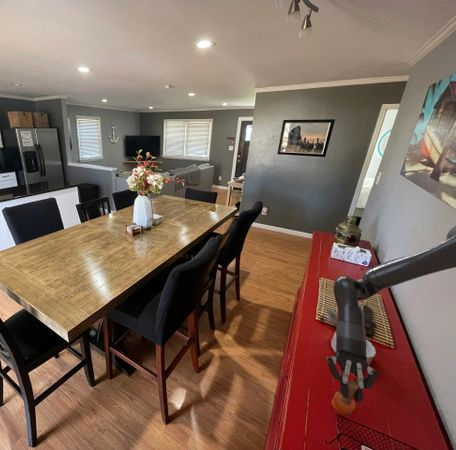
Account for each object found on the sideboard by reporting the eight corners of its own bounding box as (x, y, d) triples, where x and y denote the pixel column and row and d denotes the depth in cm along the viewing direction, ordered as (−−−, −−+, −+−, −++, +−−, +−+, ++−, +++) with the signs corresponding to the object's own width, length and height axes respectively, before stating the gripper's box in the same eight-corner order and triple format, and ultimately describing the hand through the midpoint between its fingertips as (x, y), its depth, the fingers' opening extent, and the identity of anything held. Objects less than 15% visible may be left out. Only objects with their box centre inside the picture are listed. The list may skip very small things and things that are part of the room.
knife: (362, 304, 126) (363, 302, 126) (378, 310, 122) (379, 308, 121) (354, 330, 109) (356, 327, 109) (373, 338, 105) (374, 336, 105)
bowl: (378, 363, 94) (384, 353, 92) (352, 370, 91) (358, 360, 89) (346, 336, 106) (351, 327, 104) (323, 342, 103) (326, 332, 101)
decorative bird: (362, 339, 105) (368, 326, 102) (319, 323, 113) (324, 310, 110) (361, 331, 109) (366, 318, 106) (319, 316, 117) (324, 304, 114)
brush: (355, 413, 74) (368, 390, 70) (342, 418, 73) (355, 394, 69) (340, 396, 79) (351, 374, 75) (327, 400, 78) (338, 377, 74)
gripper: (330, 331, 76) (329, 393, 70) (384, 345, 72) (388, 412, 66) (321, 332, 83) (319, 388, 77) (370, 344, 78) (372, 405, 73)
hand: (351, 399), depth 72 cm, fingers closed on brush, 2 cm apart
